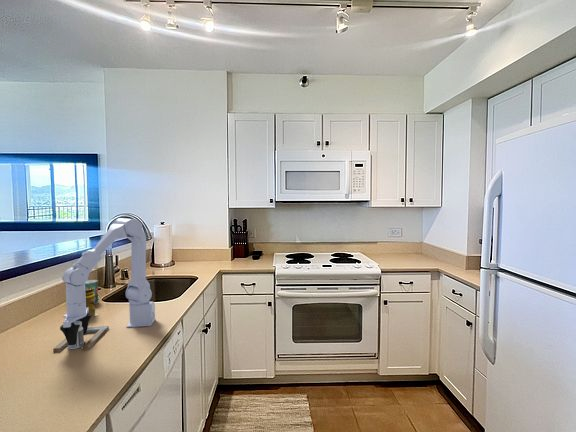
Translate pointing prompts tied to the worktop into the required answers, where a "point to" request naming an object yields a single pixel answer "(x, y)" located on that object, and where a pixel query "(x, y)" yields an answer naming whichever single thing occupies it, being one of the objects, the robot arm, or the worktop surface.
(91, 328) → the panel
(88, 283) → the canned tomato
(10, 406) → the worktop surface
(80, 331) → the pill bottle
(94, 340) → the guide channel
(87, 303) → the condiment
